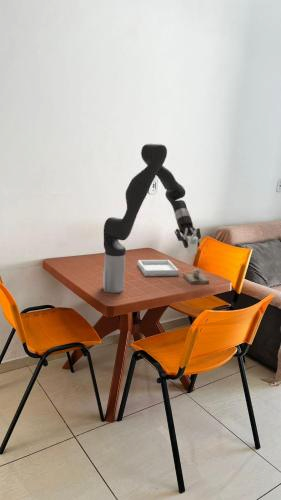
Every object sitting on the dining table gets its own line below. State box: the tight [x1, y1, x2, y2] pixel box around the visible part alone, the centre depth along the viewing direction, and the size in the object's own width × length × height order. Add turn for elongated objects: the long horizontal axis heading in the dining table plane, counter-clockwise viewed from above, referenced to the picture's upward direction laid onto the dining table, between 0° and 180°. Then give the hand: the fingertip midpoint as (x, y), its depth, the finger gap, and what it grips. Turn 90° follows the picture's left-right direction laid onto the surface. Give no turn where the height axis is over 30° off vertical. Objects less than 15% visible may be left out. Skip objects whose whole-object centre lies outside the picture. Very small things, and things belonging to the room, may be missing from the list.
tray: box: [137, 259, 180, 277], centre depth 206 cm, size 18×18×3 cm
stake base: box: [182, 268, 210, 285], centre depth 194 cm, size 10×10×6 cm
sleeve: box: [183, 235, 199, 255], centre depth 192 cm, size 5×6×8 cm
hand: (192, 247), depth 191 cm, fingers closed on sleeve, 5 cm apart
